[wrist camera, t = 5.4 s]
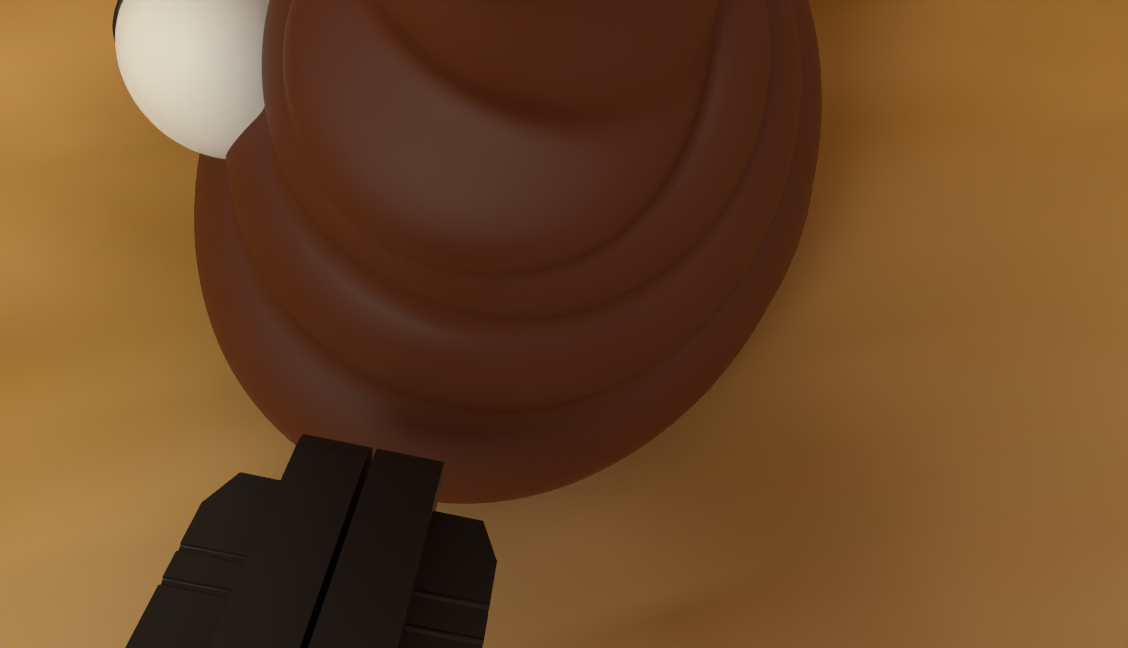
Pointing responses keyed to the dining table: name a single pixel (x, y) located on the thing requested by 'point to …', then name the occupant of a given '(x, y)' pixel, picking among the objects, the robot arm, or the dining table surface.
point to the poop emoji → (485, 211)
